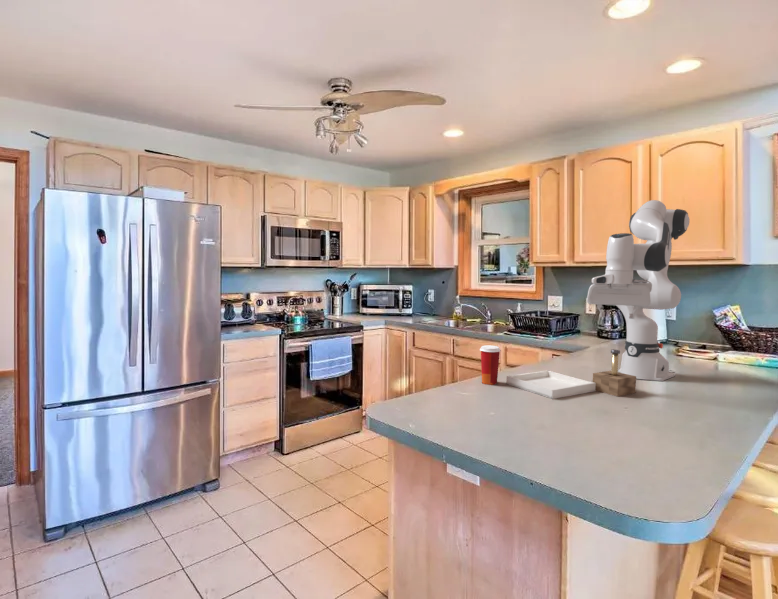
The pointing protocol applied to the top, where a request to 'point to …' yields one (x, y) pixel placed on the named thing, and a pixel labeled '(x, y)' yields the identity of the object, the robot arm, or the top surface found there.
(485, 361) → the paper cup
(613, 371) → the brass pin
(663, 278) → the robot arm
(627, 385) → the walnut block
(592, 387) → the off-white tray
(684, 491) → the top surface
